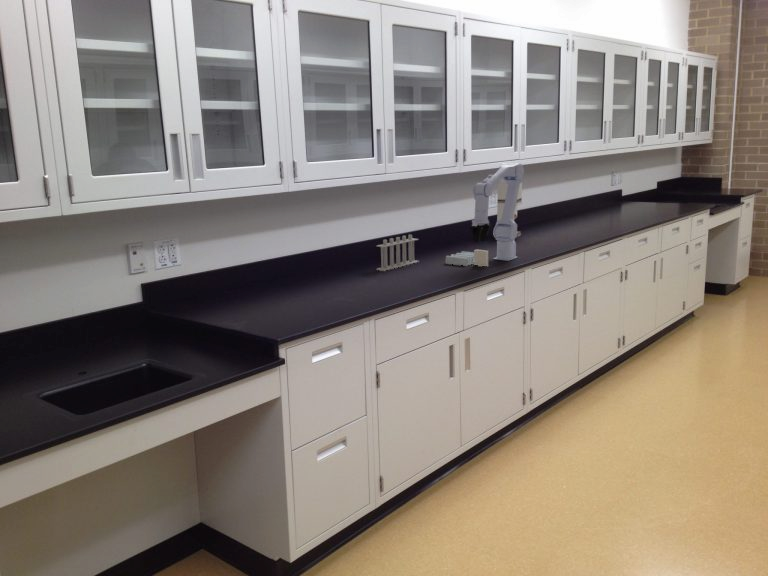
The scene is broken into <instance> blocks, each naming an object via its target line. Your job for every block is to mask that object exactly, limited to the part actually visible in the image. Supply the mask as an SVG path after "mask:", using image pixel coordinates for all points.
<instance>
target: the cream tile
mask: <svg viewBox="0 0 768 576" xmlns="http://www.w3.org/2000/svg"><path fill="white" fill-rule="evenodd" d="M473 253H474V264H473V266H474V265H478V266H477V267H482V266H487V267H489V250H484V249H474V250H473Z"/></svg>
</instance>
